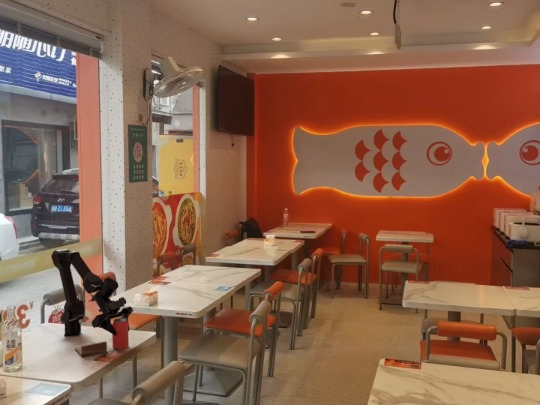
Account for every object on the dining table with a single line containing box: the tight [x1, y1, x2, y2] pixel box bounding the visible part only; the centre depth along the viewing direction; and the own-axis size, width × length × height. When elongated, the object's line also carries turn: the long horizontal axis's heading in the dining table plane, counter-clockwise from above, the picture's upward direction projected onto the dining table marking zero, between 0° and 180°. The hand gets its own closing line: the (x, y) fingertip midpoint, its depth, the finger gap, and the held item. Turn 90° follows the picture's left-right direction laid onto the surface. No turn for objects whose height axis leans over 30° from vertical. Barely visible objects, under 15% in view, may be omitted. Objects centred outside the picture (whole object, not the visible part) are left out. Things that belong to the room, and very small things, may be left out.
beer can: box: [111, 317, 130, 350], centre depth 234 cm, size 7×7×12 cm
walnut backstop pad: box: [74, 340, 108, 358], centre depth 230 cm, size 11×10×4 cm
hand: (122, 332), depth 233 cm, fingers open, 7 cm apart
